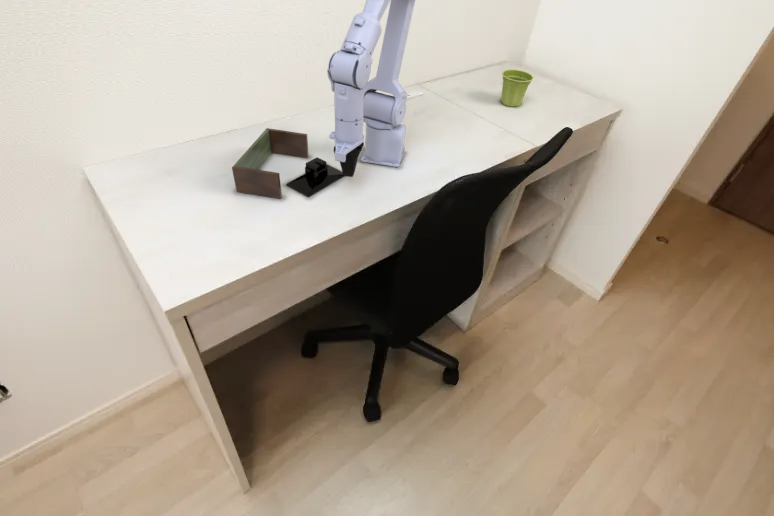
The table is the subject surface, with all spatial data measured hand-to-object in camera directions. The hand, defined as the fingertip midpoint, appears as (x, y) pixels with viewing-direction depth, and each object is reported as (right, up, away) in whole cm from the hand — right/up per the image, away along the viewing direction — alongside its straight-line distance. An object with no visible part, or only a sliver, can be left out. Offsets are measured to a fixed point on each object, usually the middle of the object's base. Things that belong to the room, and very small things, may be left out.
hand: (348, 174), depth 98 cm
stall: (-17, +1, +4) cm, 18 cm away
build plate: (-7, -1, +3) cm, 8 cm away
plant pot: (+47, +30, +42) cm, 70 cm away
